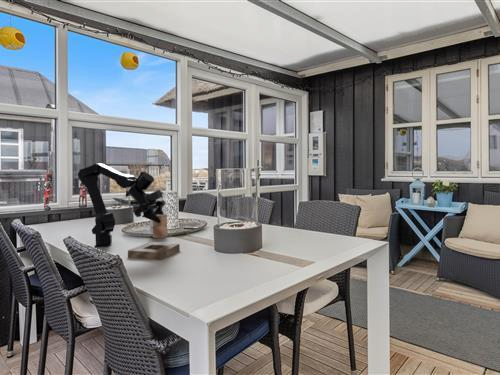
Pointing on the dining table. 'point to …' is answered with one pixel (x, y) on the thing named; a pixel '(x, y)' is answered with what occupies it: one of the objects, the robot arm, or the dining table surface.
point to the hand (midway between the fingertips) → (162, 221)
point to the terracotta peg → (160, 226)
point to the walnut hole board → (153, 250)
